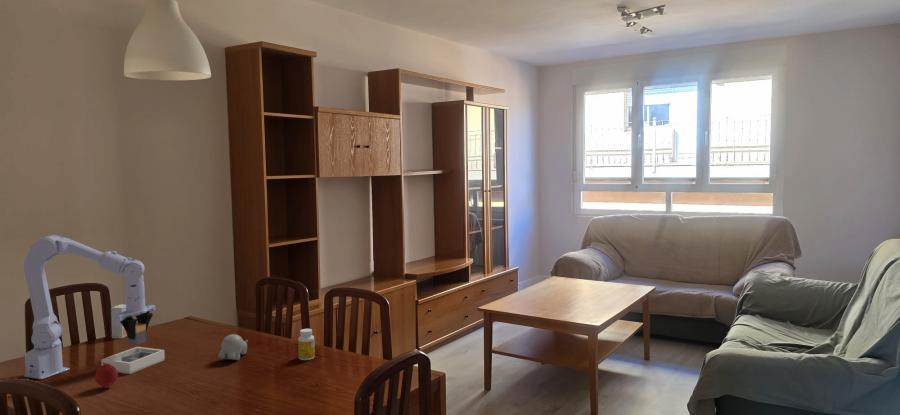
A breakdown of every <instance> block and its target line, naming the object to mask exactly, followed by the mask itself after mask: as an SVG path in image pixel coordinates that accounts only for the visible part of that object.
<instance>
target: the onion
mask: <svg viewBox="0 0 900 415" xmlns="http://www.w3.org/2000/svg"><path fill="white" fill-rule="evenodd" d="M118 376H119V372H117V370H116V368H115V367H114V366H112V365H110V364H108V363H107V362H103V365H102V364H101V366H100V367H99V368H98V369H97V370H96V372H95V376H94V379H95V380H94V381H95V382H96V384H97V385H99V386H100V387H102V388H104V389H108V388H110V387H111V386H112V385H114V383H116V381H117V379H118Z"/></svg>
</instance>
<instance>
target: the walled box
mask: <svg viewBox="0 0 900 415" xmlns="http://www.w3.org/2000/svg"><path fill="white" fill-rule="evenodd" d="M165 358H166V356H165V350H164V349H160V348H150V347H143V346H135V347H132V348H129V349H127V350H123V351H121V352H118V353H116V354H112V355H111V356H110V355H109V356H108V357H105V358H102V359H100V362H101V363H100V364H101V366H102V365H103V362H107V363H108V364H110V365H112V366H114V367H115V368H116V370H117V372H118V374H119V373H121V374H125V375H131V374H134V373H137V372H139V371H142V370H143V369H147V368H149V367H151V366H154V365H157V364H159V363H161V362H163V361H165V360H166V359H165Z"/></svg>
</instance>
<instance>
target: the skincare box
mask: <svg viewBox="0 0 900 415" xmlns="http://www.w3.org/2000/svg"><path fill="white" fill-rule="evenodd" d="M124 311H126V304H120V303H119V304H118V305H115V306H114V307H110V316H111V317H110V320H111V338H112V339H123V338H125V337H126V338H127V333H126V331H125V329H124V327H123V325H122V324H121V323H120V321H115V315H117V314H120V313H122V312H124Z"/></svg>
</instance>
